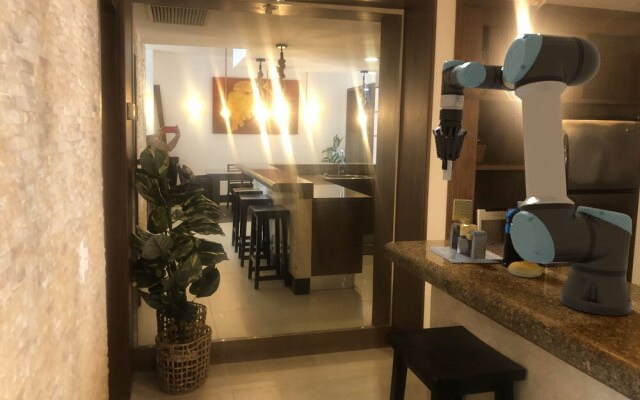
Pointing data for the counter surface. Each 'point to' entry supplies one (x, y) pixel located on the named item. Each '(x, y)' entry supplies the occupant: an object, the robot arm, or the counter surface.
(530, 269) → the bread roll
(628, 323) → the counter surface
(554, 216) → the robot arm
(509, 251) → the aerosol can
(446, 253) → the socket base
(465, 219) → the gold branched bar piece
